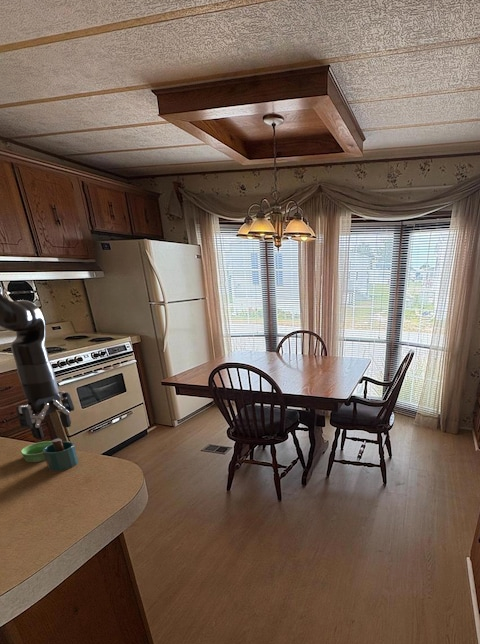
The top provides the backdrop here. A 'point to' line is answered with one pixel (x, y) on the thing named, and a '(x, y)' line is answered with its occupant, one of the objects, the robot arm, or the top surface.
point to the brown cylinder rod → (58, 445)
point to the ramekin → (35, 451)
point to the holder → (61, 457)
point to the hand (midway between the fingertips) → (53, 432)
